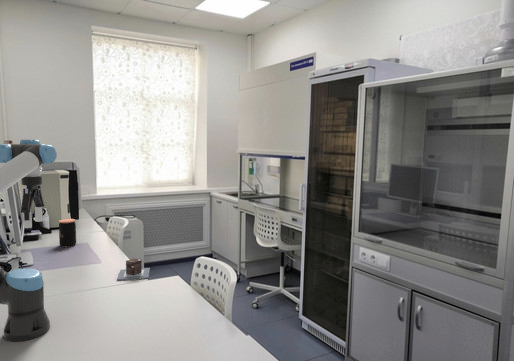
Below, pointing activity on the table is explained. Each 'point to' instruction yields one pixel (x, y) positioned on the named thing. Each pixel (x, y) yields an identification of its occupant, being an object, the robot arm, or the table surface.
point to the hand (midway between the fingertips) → (33, 224)
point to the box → (133, 266)
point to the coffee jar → (67, 232)
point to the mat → (142, 275)
